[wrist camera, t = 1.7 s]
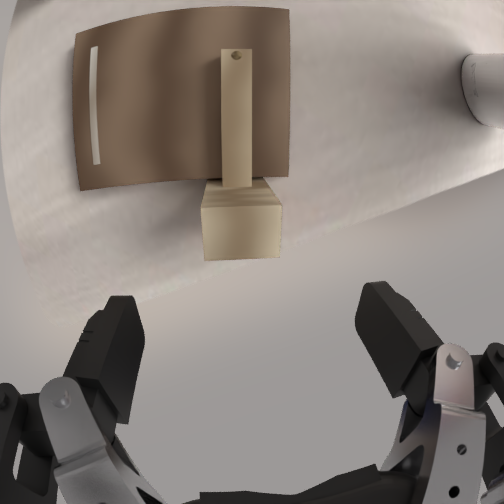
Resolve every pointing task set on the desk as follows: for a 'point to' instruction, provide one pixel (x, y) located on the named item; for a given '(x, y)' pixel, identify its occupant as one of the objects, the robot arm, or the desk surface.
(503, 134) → the desk surface
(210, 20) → the walnut board
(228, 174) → the marking gauge
